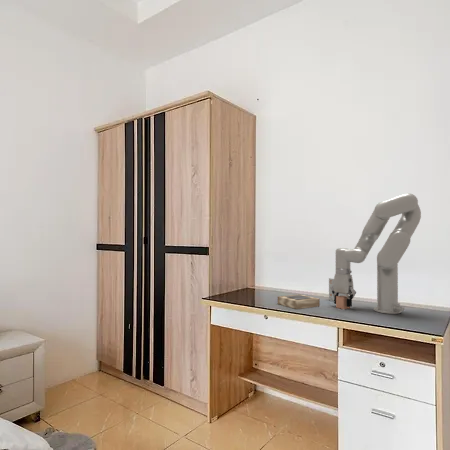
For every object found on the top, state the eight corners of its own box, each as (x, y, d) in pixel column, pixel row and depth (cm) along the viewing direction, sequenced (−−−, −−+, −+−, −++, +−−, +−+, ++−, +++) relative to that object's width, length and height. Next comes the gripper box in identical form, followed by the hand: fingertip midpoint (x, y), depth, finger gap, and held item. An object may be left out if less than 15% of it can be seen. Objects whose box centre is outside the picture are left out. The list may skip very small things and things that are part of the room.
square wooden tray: (319, 306, 195) (319, 298, 195) (296, 309, 187) (296, 300, 187) (299, 301, 209) (299, 293, 209) (277, 303, 201) (277, 296, 201)
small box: (346, 301, 210) (346, 278, 211) (340, 302, 206) (340, 279, 206) (334, 299, 217) (334, 277, 217) (328, 300, 212) (328, 278, 213)
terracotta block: (350, 308, 190) (350, 296, 190) (343, 309, 188) (343, 297, 188) (342, 306, 194) (342, 295, 195) (336, 307, 192) (336, 296, 192)
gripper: (361, 273, 186) (361, 307, 185) (335, 269, 201) (335, 301, 201) (351, 273, 182) (350, 308, 182) (325, 270, 197) (325, 302, 197)
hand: (342, 304), depth 191 cm, fingers open, 7 cm apart
